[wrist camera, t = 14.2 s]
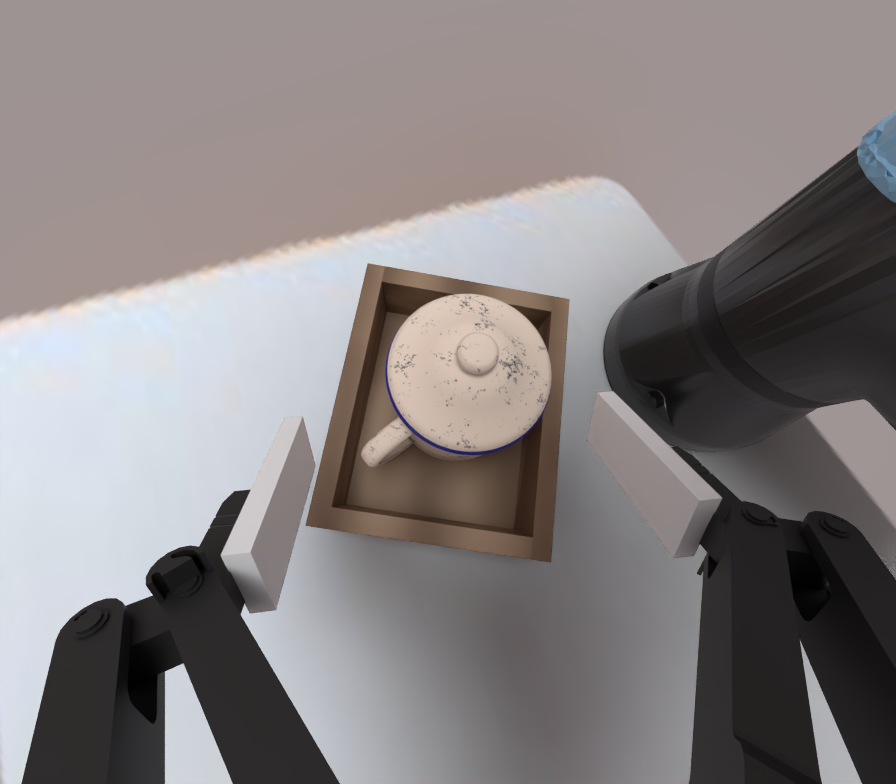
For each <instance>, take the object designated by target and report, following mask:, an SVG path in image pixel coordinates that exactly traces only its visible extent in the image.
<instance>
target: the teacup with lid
mask: <svg viewBox="0 0 896 784" xmlns="http://www.w3.org/2000/svg"><path fill="white" fill-rule="evenodd" d="M385 377H386V385H387V390H388V394H389V397H390V400H391V402H392V405H393V407H394V409H395V411H396V412H397V414H398V416H399V417H398V418H396V419H395V420H394V421H392V422H391V423H390V424H389V425H387V426H386V427H385V428H383V429H382V430H381V431H380V432H378V433H377V434H376V435H375V436H374V437H373V438H372V439H371V440H370V441H369V442H368V443H367V444H366V445H365V446H364V448H363V449H362V452H361V456H362V458H363V460H364V461H365V463H366V464H367V465H368V466H369V467H378V466H380V465H382V464H384V463H386V462H388V461H389V460H391V459H392V458H394V457H395V456H397V455H398V454H400V453H401V452H402V451H404V450H405V449H406V448H407V447H409V446H410V445H411V444H413V443H414V444H415V445H416V446H417V447H418V448H419V449H421V450H422V451H423V452H425V453H427V454H428V455H430V456H432V457H435V458H438V459H441V460H446V461H466V460H470V459H474V458H476V457H479V456H481V455H483V454H489V453H493V452H496V451H499V450H502V449H505V448H507V447H509V446H511V445H513V444H514V443H516V442H517V441H519V440H520V439H522V438H523V437H524V436H525V435H526V434H527V433H529V432H530V431H531V429H532V428H533V427H534V426H535V425H536V423H537V422H538V421H539V419H540V418H541V416H542V414H543V412H544V410H545V408H546V405H547V403H548V399H549V396H550V390H551V380H552V372H551V363H550V358H549V354H548V351H547V348H546V346H545V344H544V341H543V340H542V338H541V336H540V334H539V333H538V331H537V330H536V328H535V327H534V326H533V325H532V323H531V322H530V321H529V320H528V319H527V318H526V317H525V316H524V315H522V314H521V313H520V312H519V311H517V310H516V309H515V308H513V307H511V306H510V305H508V304H506V303H504V302H502V301H500V300H497V299H494V298H491V297H488V296H484V295H478V294H455V295H449V296H445V297H441V298H438V299H436V300H433V301H431V302H429V303H427V304H425V305H424V306H422V307H420V308H419V309H418V310H416V311H415V312H414V313H413V314H412V315H411V316H410V317H408V319H406V321H405V322H404V323H403V324H402V325H401V327H400V328H399V329H398V331H397V332H396V334H395V336H394V338H393V340H392V342H391V344H390V347H389V351H388V354H387V359H386V367H385Z"/></svg>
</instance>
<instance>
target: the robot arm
mask: <svg viewBox="0 0 896 784" xmlns="http://www.w3.org/2000/svg"><path fill="white" fill-rule="evenodd" d="M604 358H605V366H606V371H607V375H608V378H609V381H610V384H611V386H612V388H613V391H614V392H613V391H608V392H597V395H596V400H595V404H594V409H593V414H592V418H591V423H590V428H589V432H588V437H587V441H588V443H589V444H590V445H591V447H592V448H593V449H594V451H595V452H596V454H597V455H598V456H599V458H600V459H601V460H602V462H603V463H604V464H605V466H606V467H607V469H608V470H609V471H610V473H611V474H612V475H613V477H614V478H615V479H616V481H617V482H618V484H619V485H620V486H621V488H622V489H623V490H624V492H625V493H626V494H627V496H628V497H629V499H630V500H631V501H632V503H633V504H634V505H635V507H636V508H637V509H638V511H639V512H640V514H641V515H642V516H643V518H644V519H645V520H646V522H647V523H648V525H649V526H650V527H651V529H652V530H653V531H654V533H655V534H656V535H657V537H658V538H659V540H660V541H661V542H662V544H663V545H664V546H665V548H666V549H667V550H668V552H669V553H670V555H671V556H672V557H673V558H679V557H687V556H694V554H695V552H696V550H697V548H698V546H699V544H701V545H702V547H703V548H704V549H705V550H706V551H707V555H706V556H705V558H704V560H703V562H702V564H701V566H700V568H699V570H698V572H697V574H698V575H701V574H702V572H703V587H702V602H701V618H700V634H699V649H698V665H697V681H696V696H695V712H694V728H693V743H692V759H691V774H690V781H689V784H822V782H821V778H820V772H819V765H818V758H817V752H816V745H815V739H814V732H813V725H812V719H811V712H810V705H809V699H808V692H807V685H806V679H805V672H804V666H803V659H802V652H801V646H800V641H801V643H802V645H803V648H804V650H805V652H806V655H807V657H808V659H809V661H810V664H811V666H812V668H813V671H814V673H815V675H816V678H817V680H818V682H819V685H820V687H821V689H822V692H823V694H824V696H825V699H826V701H827V703H828V706H829V708H830V710H831V712H832V715H833V717H834V719H835V722H836V724H837V726H838V729H839V731H840V733H841V736H842V738H843V740H844V743H845V745H846V747H847V750H848V752H849V754H850V757H851V759H852V761H853V763H854V766H855V768H856V770H857V773H858V775H859V777H860V780H861V782H862V784H896V580H895V578H894V577H893V576H892V574H891V573H890V571H889V570H888V569H887V567H886V566H885V565H884V563H883V562H882V560H881V559H880V558H879V556H878V555H877V554H876V552H875V551H874V550H873V548H872V547H871V545H870V544H869V543H868V541H867V540H866V539H865V537H864V536H863V534H862V533H861V532H860V531H859V530H858V529H857V528H856V527H855V526H853V525H852V524H850V523H849V522H847V521H846V520H844V519H842V518H840V517H838V516H835V515H833V514H829V513H826V512H819V511H813V512H810V513H808V515H807V516H806V517H805V519H804V520H803V522H801V521H794V520H787V519H780V518H777V517H776V516H775V515H774V514H773V513H772V512H770V511H769V510H767V509H766V508H764V507H762V506H760V505H757V504H755V503H750V502H746V501H743V502H742V501H740V500H739V499H738V498H737V497H736V496H735V495H734V494H733V493H732V492H731V491H730V490H729V489H728V488H727V487H725V486H724V485H723V484H722V483H721V482H720V481H719V480H718V479H717V478H716V477H715V476H714V475H713V474H710V472H709V471H708V470H707V469H706V468H705V467H704V466H702V465H701V463H700V462H699V461H698V460H697V459H695V458H694V457H693V456H692V455H691V454H689V453H688V452H686V451H684V450H682V449H686V450H691V451H700V452H712V451H720V450H728V449H736V448H741V447H745V446H748V445H751V444H754V443H757V442H759V441H761V440H763V439H765V438H767V437H768V436H770V435H772V434H773V433H775V432H777V431H779V430H780V429H782V428H784V427H786V426H787V425H789V424H791V423H793V422H794V421H796V420H798V419H800V418H801V417H803V416H805V415H806V414H808V413H810V412H812V411H813V410H815V409H816V408H820V407H824V406H829V405H834V404H839V403H844V402H849V401H855V400H861V399H865V400H866V401H868V402H869V403H870V404H871V405H872V406H873V407H874V408H875V409H876V410H877V411H878V412H879V413H880V414H881V415H882V416H883V417H884V418H885V419H886V421H888V423H889V424H890V425H891V426H892V427H893V428H894V429H895V430H896V112H894V113H892V114H890V115H888V116H887V117H885V118H884V119H882V120H881V121H880V122H879V123H877V124H876V125H875V126H874V127H873V128H872V129H870V130H869V131H868V132H867V133H866V134H865V135H864V136H863V137H862V142H861V143H860V145H859V146H858V147H857V148H855V149H854V150H853V151H851V152H850V153H849V154H847V155H846V156H845V157H844V158H842V159H841V160H840V161H838V162H837V163H836V164H834V165H833V166H832V167H831V168H829V169H828V170H827V171H825V172H824V173H823V174H821V175H820V176H819V177H818V178H816V179H815V180H814V181H812V182H811V183H810V184H808V185H807V186H806V187H804V188H803V189H802V190H800V191H799V192H798V193H797V194H795V195H794V196H793V197H791V198H790V199H789V200H787V201H786V202H785V203H784V204H782V205H781V206H780V207H778V208H777V209H776V210H774V211H773V212H772V213H771V214H769V215H768V216H767V217H765V218H764V219H763V220H761V221H760V222H759V223H757V224H756V225H755V226H754V227H752V228H751V229H750V230H748V231H747V232H746V233H744V234H743V235H742V236H740V237H739V238H738V239H737V240H735V241H734V242H733V243H732V244H730V245H729V246H728V247H726V248H725V249H724V250H723V251H722V252H720V253H719V254H717V255H716V256H715V257H712V258H709V259H707V260H704V261H701V262H698V263H696V264H693V265H690V266H687V267H685V268H682V269H679V270H676V271H674V272H672V273H669V274H665V275H663V276H660V277H658V278H656V279H654V280H652V281H650V282H648V283H647V284H645V285H644V286H642V287H641V288H640V289H638V290H637V291H636V292H635V293H634V294H633V295H632V296H631V297H629V298H628V299H627V300H626V301H625V302H624V303H623V304H622V305H621V306H620V307H619V309H618V310H617V311H616V313H615V314H614V316H613V318H612V319H611V321H610V324H609V326H608V329H607V333H606V337H605V344H604ZM667 443H668V444H671V445H673V446H676V447H670V446H669V445H668V444H667ZM681 448H682V449H681ZM314 470H315V462H314V458H313V454H312V450H311V446H310V443H309V439H308V435H307V431H306V427H305V423H304V419H303V416H300V417H287V418H284V419H283V421H282V423H281V425H280V428H279V430H278V432H277V434H276V436H275V438H274V441H273V443H272V445H271V447H270V449H269V451H268V454H267V456H266V458H265V460H264V462H263V464H262V467H261V469H260V471H259V473H258V475H257V477H256V480H255V482H254V484H253V486H252V488H251V490H243V491H234V492H233V493H232V494H231V495H230V496H229V497H228V498H227V499H226V500H225V501H224V502H223V503H222V505H221V507H220V508H219V510H218V512H217V514H216V518H214V520H213V522H212V524H211V525H210V529H208V531H207V533H206V535H205V537H204V539H203V541H202V542H201V544H200V546H199V547H197V546H186V547H181V548H178V549H176V550H173V551H171V552H169V553H167V554H166V555H165V556H163V557H162V558H160V559H159V560H158V561H157V562H156V563H155V564H154V565H153V566H152V567H151V568H150V570H149V572H148V574H147V576H146V586H147V587H148V589H149V590H150V592H151V593H152V594H153V596H150V597H148V598H145V599H143V600H140V601H137V602H135V603H132V604H129V605H127V606H125V605H124V604H123V602H121V601H120V600H118V599H116V598H110V599H103V600H100V601H97V602H94V603H92V604H91V605H89V606H87V607H85V608H83V609H82V610H80V611H79V612H78V613H77V614H75V615H74V616H73V617H72V618H70V619H69V621H68V622H67V623H66V624H65V625H64V626H63V628H62V629H61V630H60V632H59V634H58V637H57V639H56V642H55V646H54V650H53V654H52V658H51V663H50V667H49V671H48V675H47V679H46V684H45V688H44V692H43V696H42V700H41V705H40V709H39V713H38V717H37V721H36V725H35V730H34V734H33V738H32V742H31V746H30V751H29V755H28V759H27V763H26V767H25V771H24V776H23V780H22V784H165V671H167V670H169V669H171V668H174V667H176V666H178V665H180V664H182V663H184V665H185V668H186V670H187V673H188V675H189V677H190V680H191V682H192V685H193V687H194V690H195V692H196V695H197V697H198V699H199V702H200V704H201V707H202V709H203V712H204V714H205V717H206V719H207V721H208V724H209V726H210V729H211V731H212V734H213V736H214V739H215V741H216V743H217V746H218V748H219V751H220V753H221V756H222V758H223V760H224V763H225V765H226V768H227V770H228V773H229V775H230V778H231V780H232V782H233V784H340V783H339V782H338V780H337V778H336V777H335V775H334V773H333V771H332V770H331V768H330V766H329V765H328V763H327V761H326V760H325V758H324V756H323V754H322V753H321V751H320V749H319V748H318V746H317V744H316V743H315V741H314V739H313V737H312V736H311V734H310V732H309V731H308V729H307V727H306V726H305V724H304V722H303V720H302V719H301V717H300V715H299V714H298V712H297V710H296V708H295V707H294V705H293V703H292V702H291V700H290V698H289V697H288V695H287V693H286V691H285V690H284V688H283V686H282V685H281V683H280V681H279V680H278V678H277V676H276V674H275V673H274V671H273V669H272V668H271V666H270V664H269V663H268V661H267V659H266V657H265V656H264V654H263V652H262V651H261V649H260V647H259V646H258V644H257V642H256V640H255V639H254V637H253V635H252V634H251V632H250V630H249V629H248V627H247V625H246V623H245V622H244V620H243V618H242V617H241V612H242V609H243V606H244V603H245V605H246V607H247V609H248V611H249V613H257V612H265V611H273V610H276V608H277V604H278V601H279V597H280V593H281V590H282V586H283V582H284V579H285V575H286V572H287V568H288V564H289V561H290V557H291V553H292V550H293V546H294V542H295V539H296V535H297V531H298V528H299V524H300V521H301V517H302V513H303V510H304V506H305V502H306V499H307V495H308V491H309V488H310V484H311V481H312V477H313V473H314ZM799 638H800V639H799Z"/></svg>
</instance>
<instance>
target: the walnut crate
mask: <svg viewBox="0 0 896 784" xmlns="http://www.w3.org/2000/svg"><path fill="white" fill-rule="evenodd" d="M455 294H478V295H484V296H488V297H491V298H494V299H497V300H500V301H502V302H504V303H506V304H508V305H510V306H511V307H513V308H515V309H516V310H517V311H519V312H520V313H521V314H522V315H524V316H525V317H526V318H527V319H528V320H529V321H530V322H531V323H532V325H533V326H534V327H535V328H536V330H537V331H538V333H539V334H540V336H541V338H542V340H543V341H544V344H545V346H546V348H547V351H548V354H549V358H550V363H551V372H552V380H551V390H550V396H549V399H548V403H547V405H546V408H545V410H544V412H543V414H542V416H541V418H540V419H539V421H538V422H537V423H536V425H535V426H534V427H533V428H532V429H531V431H530V432H529V433H527V434H526V435H525V436H524V437H523V438H522V439H520V440H519V441H517V442H516V443H514V444H513V445H511V446H509V447H507V448H505V449H502V450H499V451H496V452H493V453H489V454H483V455H481V456H479V457H476V458H474V459H470V460H466V461H446V460H441V459H438V458H435V457H432V456H430V455H428V454H427V453H425V452H423V451H422V450H421V449H419V448H418V447H417V446H416V445H415V444H414V443H413V444H411V445H410V446H409V447H407V448H406V449H405V450H404V451H402V452H401V453H400V454H398V455H397V456H395V457H394V458H392V459H391V460H389V461H388V462H386V463H384V464H382V465H380V466H378V467H369V466H368V465H367V464H366V463H365V461H364V460H363V458H362V456H361V452H362V449H363V448H364V446H365V445H366V444H367V443H368V442H369V441H370V440H371V439H372V438H373V437H374V436H375V435H376V434H377V433H378V432H380V431H381V430H382V429H383V428H385V427H386V426H387V425H389V424H390V423H391V422H392V421H394V420H395V419H396V418H398V417H399V416H398V414H397V412H396V411H395V409H394V407H393V405H392V402H391V400H390V397H389V394H388V390H387V385H386V377H385V367H386V359H387V354H388V351H389V347H390V344H391V342H392V340H393V338H394V336H395V334H396V332H397V331H398V329H399V328H400V327H401V325H402V324H403V323H404V322H405V321H406V319H408V317H410V316H411V315H412V314H413V313H414V312H415V311H416V310H418V309H419V308H420V307H422V306H424V305H425V304H427V303H429V302H431V301H433V300H436V299H438V298H441V297H445V296H449V295H455ZM568 311H569V299H565V298H559V297H554V296H548V295H543V294H537V293H531V292H526V291H520V290H515V289H509V288H503V287H498V286H492V285H486V284H481V283H475V282H470V281H464V280H458V279H453V278H447V277H442V276H436V275H430V274H425V273H419V272H413V271H408V270H402V269H397V268H391V267H385V266H380V265H374V264H369V263H368V265H367V269H366V273H365V278H364V282H363V286H362V290H361V294H360V299H359V303H358V307H357V311H356V316H355V320H354V324H353V328H352V332H351V337H350V341H349V345H348V349H347V353H346V358H345V362H344V366H343V370H342V374H341V379H340V383H339V387H338V391H337V396H336V400H335V404H334V408H333V412H332V417H331V421H330V425H329V429H328V433H327V438H326V442H325V446H324V450H323V455H322V459H321V463H320V467H319V471H318V476H317V480H316V484H315V488H314V492H313V497H312V501H311V505H310V509H309V514H308V518H307V522H306V526H311V527H318V528H324V529H331V530H338V531H344V532H351V533H358V534H365V535H371V536H378V537H385V538H391V539H398V540H405V541H411V542H418V543H425V544H432V545H438V546H445V547H452V548H458V549H465V550H472V551H478V552H485V553H492V554H499V555H505V556H512V557H519V558H525V559H532V560H539V561H545V562H551V556H552V541H553V527H554V512H555V498H556V484H557V469H558V455H559V441H560V426H561V412H562V397H563V383H564V369H565V354H566V340H567V326H568Z"/></svg>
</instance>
